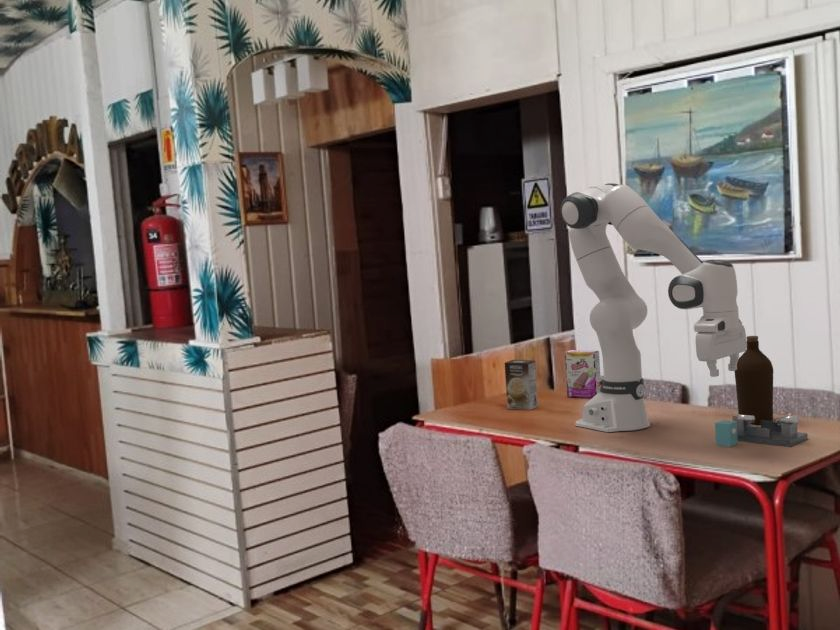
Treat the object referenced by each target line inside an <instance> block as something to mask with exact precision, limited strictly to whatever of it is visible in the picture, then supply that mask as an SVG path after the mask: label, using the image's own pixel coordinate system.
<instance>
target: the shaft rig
mask: <svg viewBox="0 0 840 630" xmlns="http://www.w3.org/2000/svg"><path fill="white" fill-rule="evenodd" d="M732 421H736V422H737V441H739V442H746V443H756V444H764V445H771V446H780V447H789V448H790V447H792V446H796V445H797V444H799V443H801V442H804V441H806V440H808V433H807V432H801V431H800V432H798V423H800V416H799V415H798V414H793V415H789V416H782V417H777V418H776V419H775V421H774V420H773V421H766V420H761V425H760V426H756V425H751V423H754V422H755V417H754V416H751V415H741V414H737V413H733V414H732Z"/></svg>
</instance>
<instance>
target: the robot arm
mask: <svg viewBox="0 0 840 630" xmlns="http://www.w3.org/2000/svg"><path fill="white" fill-rule="evenodd" d="M560 215H561V218H562V220H563V222H564V223H565V225H566V226H567V227H569V229H568V235H569V241H570V245H571V248H572V252H573V255H574V257H575V260H576V262H577V265H578V268H579V270H580V272H581V275H582V277H583V280H584V282H585V284H586V286H587V287H588V288H589V289H590V290H591V291H592V292H593V293H594V294H595V295H596V297H597V299H599V301H598V302H597V303H596V304H595V306H594V307H592V309H591V311H590V314H589V323H590V326H591V327H592V329H593V330H594V331H595V333H596V336H597V340H598V343H599V347H600V349H601V356H602V368H603V370H602V371H603V379H602V380H601V382H598V383H599V384H598V383H597V384H598V385H597V386H601V387H600V392H599V393H598V394H596V395H595V396H594V397H593V398H590V400H588V401H586V403H585V404H584V405H583V409H582V418H580V419H577V420H576V421H575V427H576V426H577V427H581V428H585V429H590V430H594V431H595V430H596V431H600V432H605V433H612V432H613V433H614V432H629V431H638V430H643V429H646V428H649V427H650V426H651V423H650V420H649V416H648V413H647V410H646V404H645V383H644V378H643V374H642V373H643V371H642V354H641V350H640V349H639V348H638V346H637V344H636V340H635V337H634V330H635V329H637V328H639V327H640V326H641V325H642V324H643V322H644V321H645V320H646V318H647V315H648V306H647V303H646V301H645V300H644V299H643V298H642V297H640V296H639V295H638V293H637V292H636V290H635V289H634V287H633V286H632V284H631V282H630V281H629V280H628V278H627V277H626V275H625V273H624V272H623V270H622V267H621V265H620V264H619V261H618V259H617V257H616V256H617V255H616V254H615V252H614V249H613V247H612V244H611V243H610V240H609V238H608V235H607V226H608V225H609V226H613V228H614V229H615V230H616V231H617V233H618V234H619V235H620V237H621V238H622V239H623V240H624V241H625V242H626V243H627V244H628V245H630V247H632V248H633V249H636V250H639V251H645V252H650V253H653V254H654V253H655V254H657V255H660V256H662V257H664V258H665V259H667V260H668V261H669V262H670V263H671V264H672V265H673V266H674V267H675V268H676V269H677V270H678V271H679V272H680V273H681V274H679V275H677V276H675V277H674V278H672V280H670V282H669V284H668V289H667V294H668V295H667V296H668V298H669V301H670V302H671V304H672V305H673V306H674V307H676V308H677V309H680V310H692V309H698V308H699V309H700V308H702V312H703V313H702V316H701V317H700V318H699V320H697V321H696V322H695V323H694V325H693V331H694V332H695V333H696V334H695V350H696V351H695V353H696V357H697V359H698V361H699V362H705V363H706V365H707V367H708V370H709V376H710V377H711V378H716V377H719V376H720V371H719V370H720V369H718V368H717V363H718V361H717V360H720V359H724V358H727V357H729V363H728V364H727V370H728V371H730V372H734V371H735V370H737V362H738V359H739V358H740V354H741V353H744V352H745V351H746V350H747V333H746V328H745V326H744V325H743V321H741V319H740V317H739V316H740V314H739V306H738V303H737V298H738V280H737V275H736V269H735V266H734V265H733V264H732V263H731V262H729V261H727V260H723V259H707V260H704V261H702V260H701V258H699V257H698V255H696V253H695V252H694V251H693V250H692V249H691V248H690V247H689V246H688V245H687V244H686V243H685V242H684V241H683V240H682V239H681V238H680V236H678V235H677V234H676V233H675V232H674V231H673V230H672V229H670V227H668V226H667V225H666V224H665V222H664V221H662V220H661V218H660V217H659V216H658V214H656V213H655V212H654V210H653V209H652V208H651V206H650V205H649V203H647V202H646V200H644V198H642V196H640V194H639V193H637V192H636V191H635V190H634V189H633V188H632V187H630V186H629V185H627V184H618V183H614V182H613V183H611V182H609V183H605V184H602V185H600V184H599V185H594V186H591V187H588V188H585V189H583V190H579V191H576V192H575V191H574V192H573V193H571V194H569V195H567V196H566V197H565V198H563V200H562V201H561V204H560Z"/></svg>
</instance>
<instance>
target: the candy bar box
mask: <svg viewBox="0 0 840 630" xmlns="http://www.w3.org/2000/svg"><path fill="white" fill-rule="evenodd" d="M564 357H565V358H564V359H565V376H566V377H565V379H566V393H567V395H566V396H567V398H570V399H571V398H575V399H577V398H578V399H579V398H581V399H592V398H593V397H594V396H595V395H596V394H598V393H599V392H600V387H601V386H597V385H598V384H599V383H598V382H601V381H602V380H601V379H602V378H601V366H600V365H601V364H600V362H601V361H600V350H591V349H590V350H584V349H583V350H581V349H570V350H567V351H564ZM597 383H598V384H597Z"/></svg>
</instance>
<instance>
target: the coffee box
mask: <svg viewBox="0 0 840 630" xmlns="http://www.w3.org/2000/svg"><path fill="white" fill-rule="evenodd" d="M536 367H537V366H536V360H531V359H530V360H529V359H511V360H509V361H506V362H504V373H505V375H504V376H505V377H504V378H505V391H506V394H505V395H506V408H507V409H510V410H525V411H526V410H527V411H530V410H533V409H536V408H537V406H539V405H538V404H539V401H538V388H537V387H538V385H537V370H536Z"/></svg>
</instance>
